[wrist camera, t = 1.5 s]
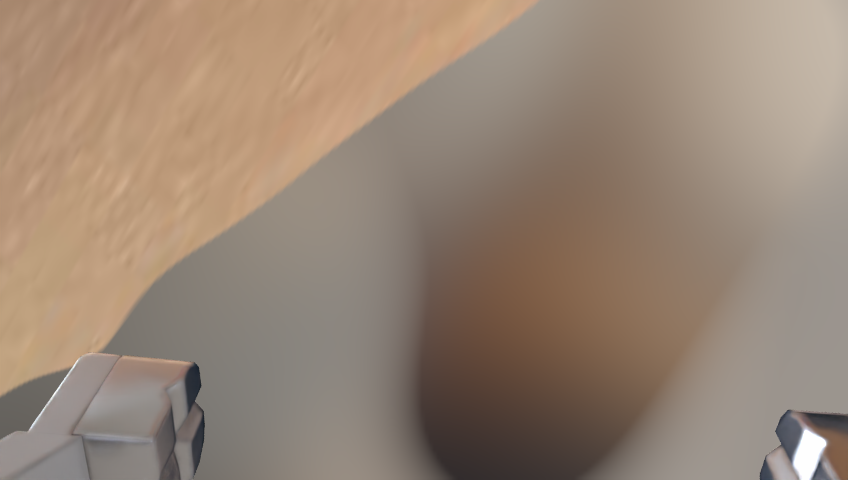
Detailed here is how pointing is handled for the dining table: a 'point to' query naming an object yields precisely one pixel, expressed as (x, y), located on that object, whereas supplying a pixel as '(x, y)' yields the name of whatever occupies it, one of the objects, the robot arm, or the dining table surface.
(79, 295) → the dining table surface
